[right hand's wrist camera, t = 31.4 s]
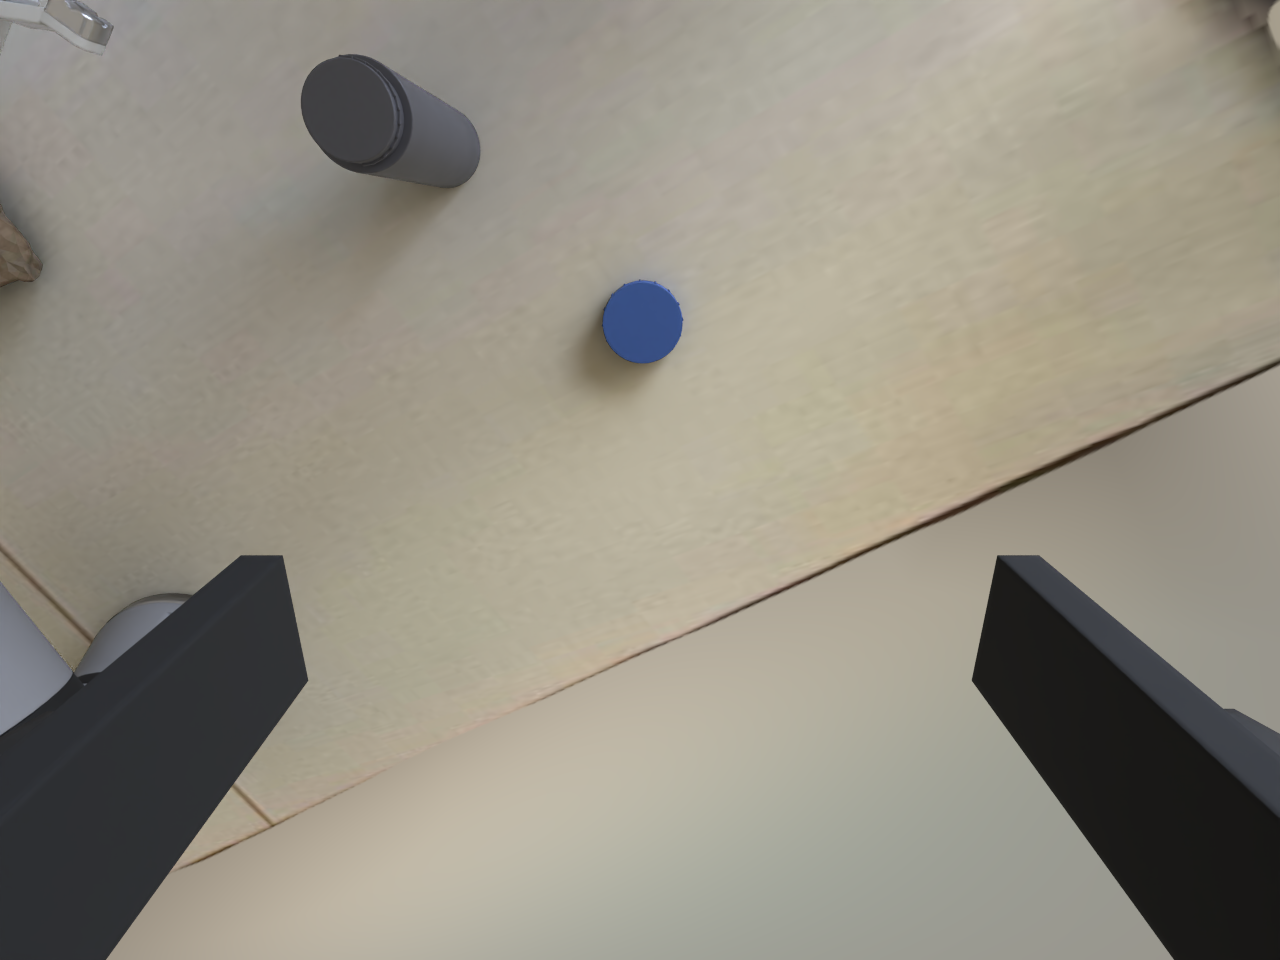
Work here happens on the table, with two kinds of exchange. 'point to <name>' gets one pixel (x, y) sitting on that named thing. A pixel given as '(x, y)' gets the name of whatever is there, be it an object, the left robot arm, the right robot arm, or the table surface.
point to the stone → (16, 255)
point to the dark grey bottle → (387, 124)
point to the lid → (642, 322)
